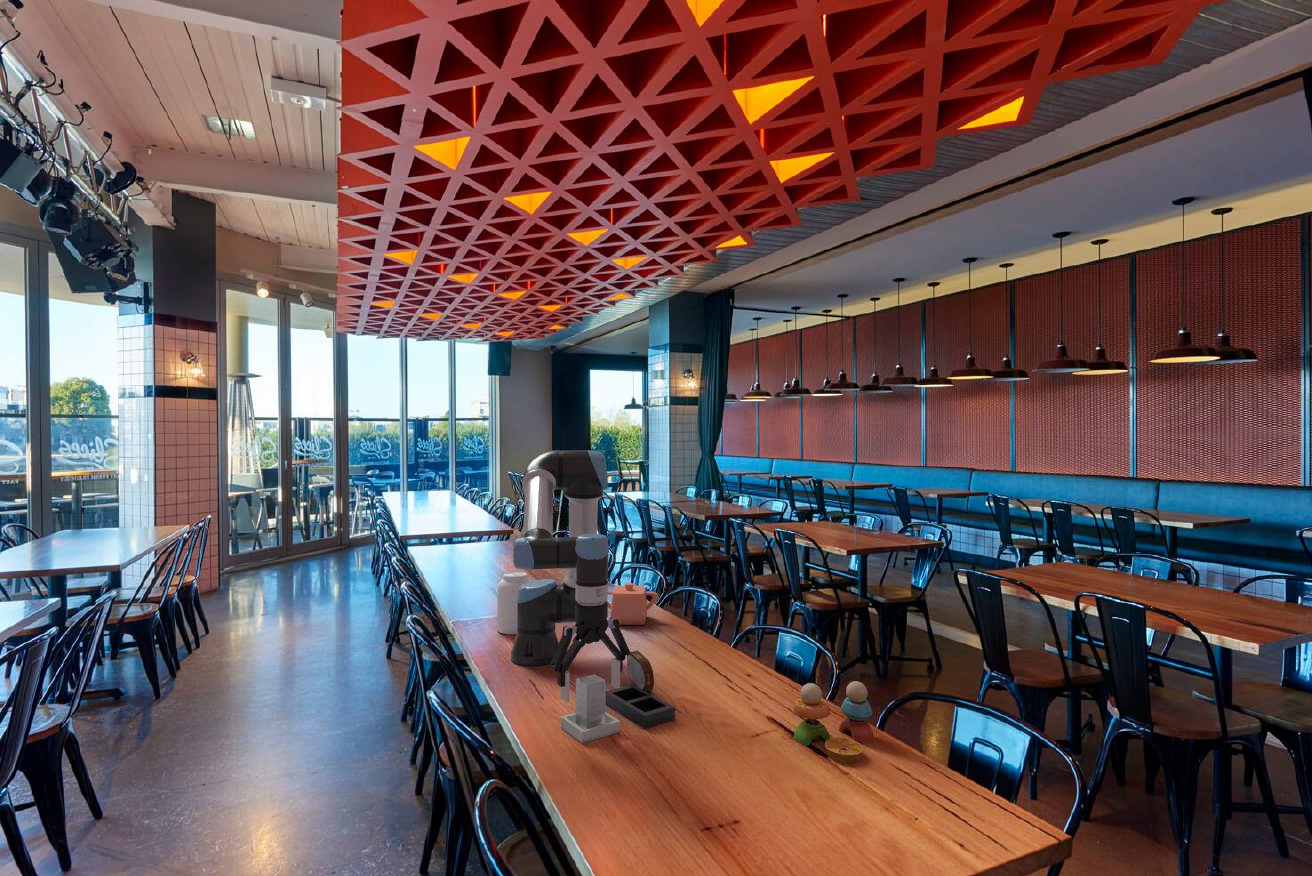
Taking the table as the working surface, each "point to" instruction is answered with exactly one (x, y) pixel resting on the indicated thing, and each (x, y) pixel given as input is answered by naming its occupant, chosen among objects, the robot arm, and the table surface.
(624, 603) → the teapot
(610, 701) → the dark rectangular frame
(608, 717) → the tray
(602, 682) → the grey rectangular block
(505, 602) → the white bottle
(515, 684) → the table surface
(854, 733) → the wooden stacking toy
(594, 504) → the robot arm
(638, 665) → the tin
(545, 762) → the table surface
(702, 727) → the table surface
